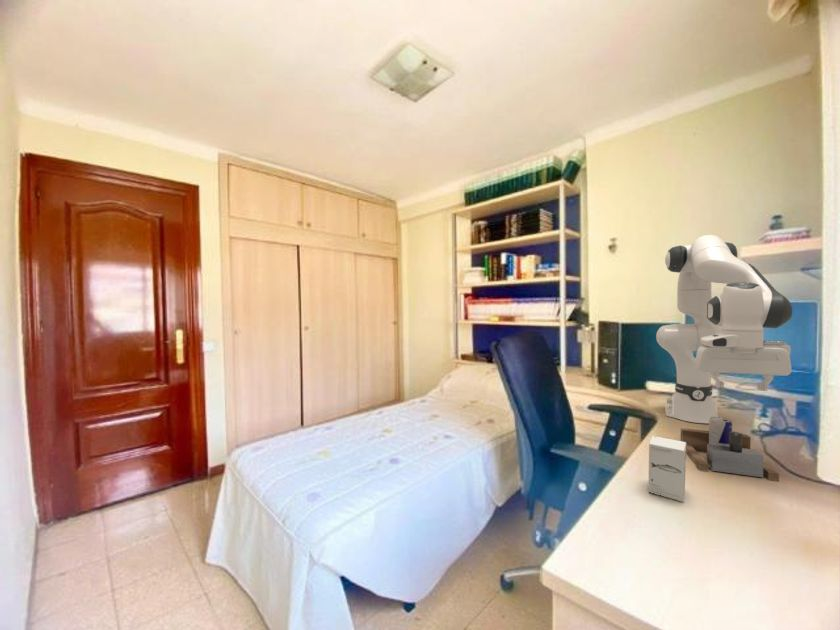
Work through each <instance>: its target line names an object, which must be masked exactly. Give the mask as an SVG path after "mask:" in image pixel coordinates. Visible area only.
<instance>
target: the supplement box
mask: <svg viewBox="0 0 840 630" xmlns="http://www.w3.org/2000/svg"><path fill="white" fill-rule="evenodd" d="M686 459H687V454H686V442H682V441H681V440H676V439H671V438H665V437H660V436H656V435H652V436H651V437H650V441H649V443H648V485H647V486H648V487H647V488H648V491H647V492H648V493H649V492H651V493H650V494H653V493H654V495H658V496H660V495H661V497H663V498H664V497H665V498H669V499H672V500H674V501H679V502H681V503H685V496H686V495H685V492H686V473H687V472H686V471H687V470H686V467H687V466H686V465H687V463H686V461H687V460H686Z"/></svg>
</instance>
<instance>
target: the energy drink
mask: <svg viewBox="0 0 840 630" xmlns="http://www.w3.org/2000/svg"><path fill="white" fill-rule="evenodd" d="M708 431H709V444H710V445H719V446H727V447H730V431H733V422H732V420H731V419H730V418H729V419H728V418H726V417H721V416H718V417H710V419H709V423H708Z"/></svg>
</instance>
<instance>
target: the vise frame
mask: <svg viewBox="0 0 840 630" xmlns="http://www.w3.org/2000/svg"><path fill="white" fill-rule="evenodd" d="M680 441H682V442H686V456H687V457H688V458H689V459H690V460H691V462H692V463H693V464H694V465H695V467H697V470H699V471H701V472H702V471H703V472H709V466H708V464H707V460H705V459H704V458H703V456H701V454H699V452H700V453H706V454H707V444H709V430H705V429H704V430H703V429H693V428H684V427H680ZM742 448H745V449H751V436H749V435H748V434H746V433H745V434H744V433H742ZM763 477H765V478H766V479H767V480H768V481H772V482H773V481H774V482H779V477H780V475H779V472H777V471H776V470H775V469H773V468H772V467H771V466H770V465H768V464H767V463H766V462H764V461H763Z"/></svg>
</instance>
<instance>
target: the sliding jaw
mask: <svg viewBox="0 0 840 630" xmlns="http://www.w3.org/2000/svg"><path fill="white" fill-rule="evenodd" d="M742 434H743V433H742V432H738V431H734V430H732V431H730V447H727V446H719V445H710V444H707V453H706V462H707V464H708V468H709V469H710V470H711V471H713V472H721V473H729V474H734V475H741V476H742V475H743V476H748V477H749V476H750V477H756V478H757V477H758V478H764V475H763V462H764V454H762V453H761V452H760V451H758V450H756V449H752V448H750V449H745V448H742Z"/></svg>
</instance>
